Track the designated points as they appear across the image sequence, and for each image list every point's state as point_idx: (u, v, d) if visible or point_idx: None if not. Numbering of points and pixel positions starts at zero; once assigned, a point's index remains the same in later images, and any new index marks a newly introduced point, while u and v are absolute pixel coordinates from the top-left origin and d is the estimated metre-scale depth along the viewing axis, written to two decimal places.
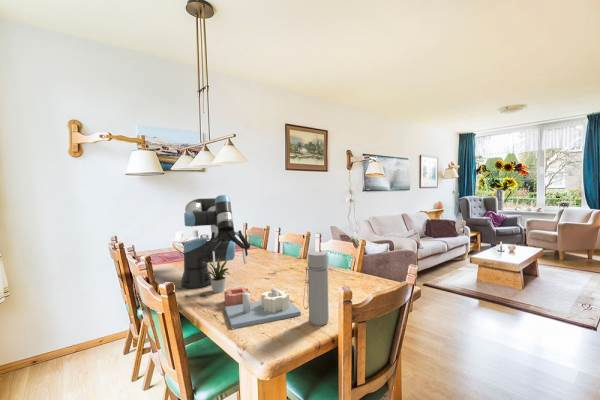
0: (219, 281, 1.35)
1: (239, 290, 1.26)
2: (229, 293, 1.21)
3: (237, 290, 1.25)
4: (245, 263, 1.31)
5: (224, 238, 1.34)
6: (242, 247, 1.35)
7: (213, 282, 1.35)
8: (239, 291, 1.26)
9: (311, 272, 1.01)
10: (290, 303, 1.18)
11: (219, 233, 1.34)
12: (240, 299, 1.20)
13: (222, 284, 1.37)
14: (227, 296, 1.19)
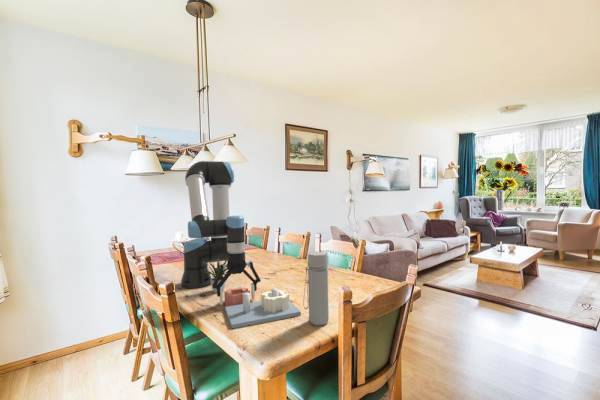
0: (219, 281, 1.35)
1: (239, 290, 1.26)
2: (229, 293, 1.21)
3: (237, 290, 1.25)
4: None
5: (233, 272, 1.21)
6: None
7: None
8: (239, 291, 1.26)
9: (311, 272, 1.01)
10: (290, 303, 1.18)
11: (228, 266, 1.20)
12: (240, 299, 1.20)
13: None
14: (227, 296, 1.19)
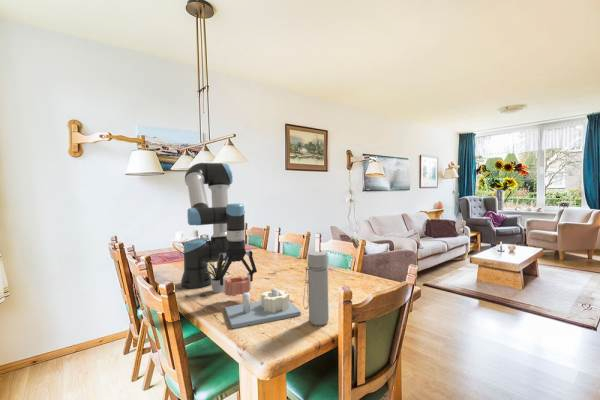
0: (219, 281, 1.35)
1: (238, 279, 1.26)
2: (228, 281, 1.21)
3: (236, 279, 1.26)
4: None
5: (233, 260, 1.21)
6: None
7: (213, 282, 1.35)
8: (238, 280, 1.26)
9: (311, 272, 1.01)
10: (290, 303, 1.18)
11: (228, 254, 1.20)
12: (239, 287, 1.20)
13: None
14: (226, 284, 1.19)
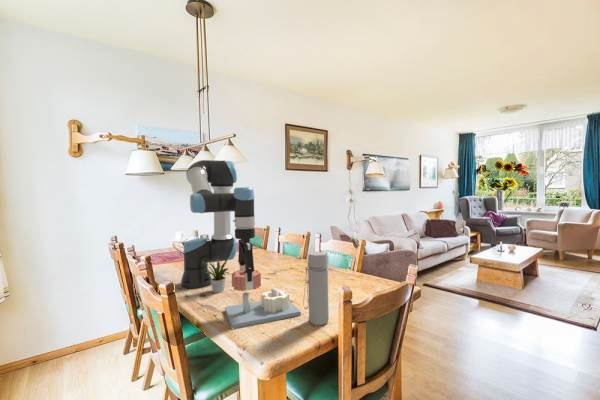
0: (219, 281, 1.35)
1: (253, 274, 1.09)
2: (241, 271, 1.12)
3: None
4: (251, 289, 1.05)
5: (241, 249, 1.10)
6: None
7: (213, 282, 1.35)
8: None
9: (311, 272, 1.01)
10: (290, 303, 1.18)
11: (240, 241, 1.12)
12: None
13: (222, 284, 1.37)
14: None
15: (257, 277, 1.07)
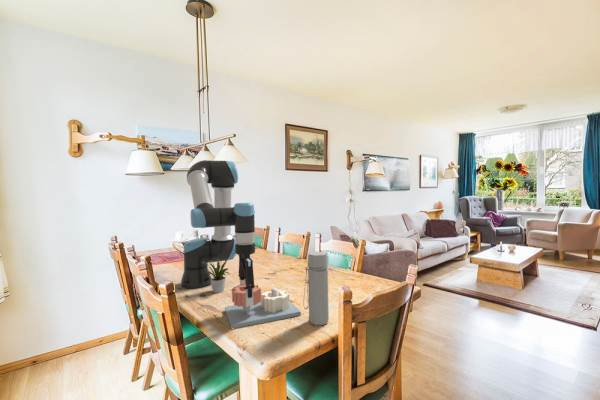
0: (219, 281, 1.35)
1: (253, 290, 1.09)
2: (241, 286, 1.12)
3: None
4: (251, 305, 1.05)
5: (242, 264, 1.10)
6: None
7: (213, 282, 1.35)
8: None
9: (311, 272, 1.01)
10: (290, 303, 1.18)
11: (241, 256, 1.12)
12: None
13: (222, 284, 1.37)
14: None
15: (257, 293, 1.07)
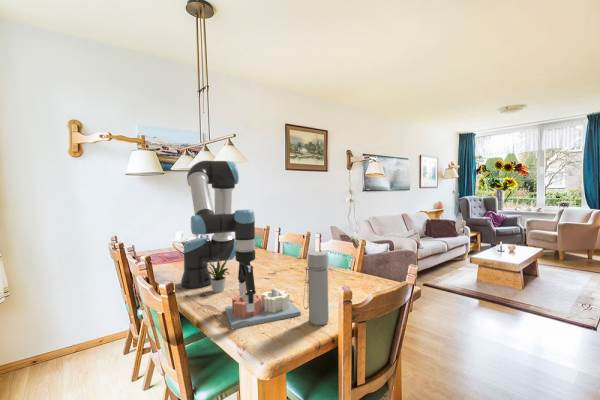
0: (219, 281, 1.35)
1: None
2: (241, 296, 1.13)
3: None
4: (252, 311, 1.04)
5: None
6: None
7: (213, 282, 1.35)
8: None
9: (311, 272, 1.01)
10: (290, 303, 1.18)
11: (241, 263, 1.12)
12: None
13: (222, 284, 1.37)
14: None
15: (257, 303, 1.08)
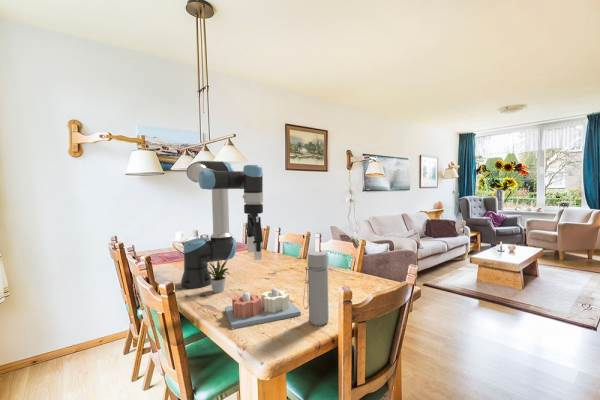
0: (219, 281, 1.35)
1: None
2: (241, 296, 1.13)
3: (253, 299, 1.10)
4: (260, 259, 1.10)
5: (250, 224, 1.16)
6: (258, 238, 1.10)
7: (213, 282, 1.35)
8: None
9: (311, 272, 1.01)
10: (290, 303, 1.18)
11: (249, 217, 1.18)
12: None
13: (222, 284, 1.37)
14: None
15: (257, 303, 1.08)
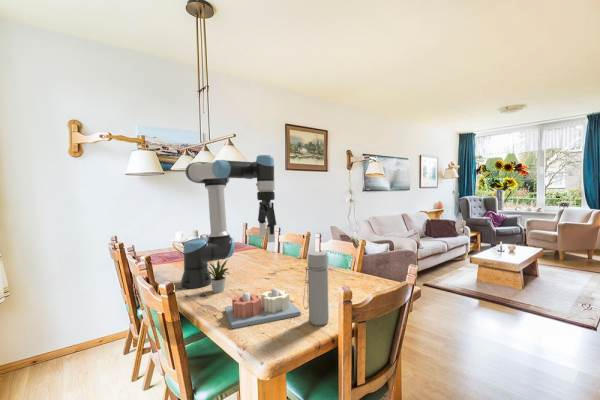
0: (219, 281, 1.35)
1: None
2: (241, 296, 1.13)
3: (253, 299, 1.10)
4: (273, 241, 1.19)
5: (263, 210, 1.26)
6: None
7: (213, 282, 1.35)
8: None
9: (311, 272, 1.01)
10: (290, 303, 1.18)
11: (261, 204, 1.27)
12: None
13: (222, 284, 1.37)
14: None
15: (257, 303, 1.08)
